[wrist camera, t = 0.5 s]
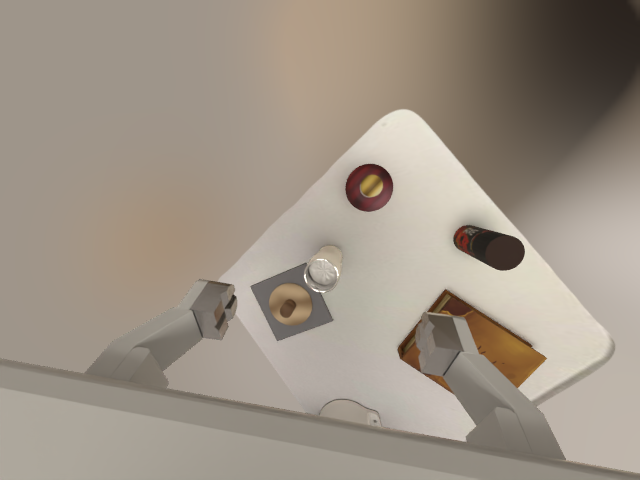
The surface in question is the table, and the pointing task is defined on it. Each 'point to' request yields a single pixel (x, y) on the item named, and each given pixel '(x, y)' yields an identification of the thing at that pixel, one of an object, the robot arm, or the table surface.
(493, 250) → the deodorant
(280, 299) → the oak lid
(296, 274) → the rubber mat
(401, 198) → the table surface
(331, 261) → the beer glass
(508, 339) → the diary
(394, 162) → the table surface
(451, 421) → the table surface
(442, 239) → the table surface
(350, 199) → the liquor
